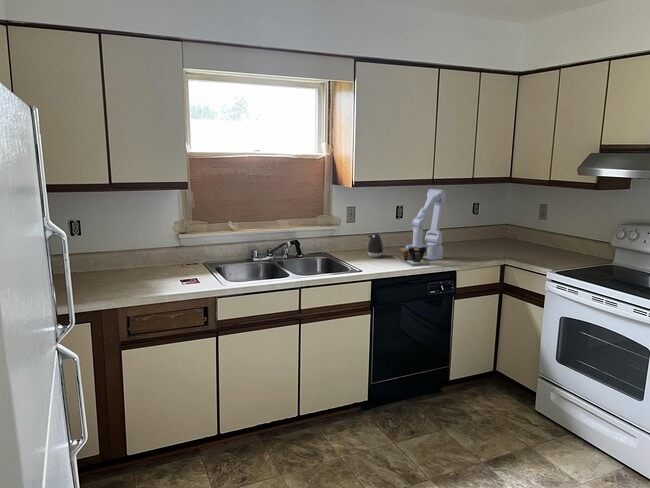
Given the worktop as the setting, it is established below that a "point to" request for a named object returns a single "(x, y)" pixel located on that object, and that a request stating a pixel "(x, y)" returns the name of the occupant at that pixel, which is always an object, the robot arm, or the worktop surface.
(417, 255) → the sled
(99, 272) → the worktop surface
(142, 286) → the worktop surface
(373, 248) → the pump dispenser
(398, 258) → the track
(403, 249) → the tunnel
